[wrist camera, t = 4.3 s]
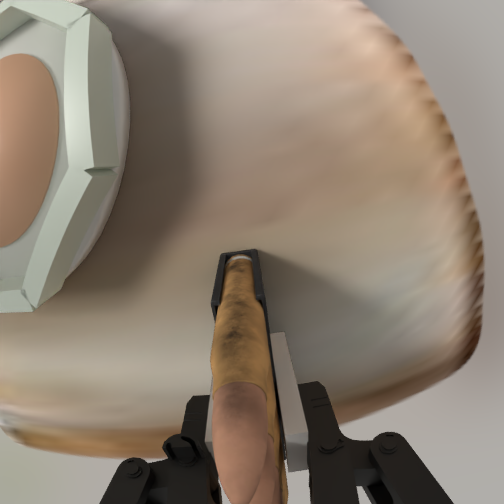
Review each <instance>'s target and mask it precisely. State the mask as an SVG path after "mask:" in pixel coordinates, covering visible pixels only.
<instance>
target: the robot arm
mask: <svg viewBox="0 0 504 504" xmlns="http://www.w3.org/2000/svg"><path fill="white" fill-rule="evenodd" d="M270 338H271V345H272V353H273V360H274V368H275V376H276V383H277V391H278V399H279V407H280V416H281V424H282V430H283V437H284V444H285V451H286V458H287V465H288V472H294V471H301V470H307V469H309V487H310V501H311V504H359V498H358V493H357V487H356V486H362V487H363V489H364V491H365V493H366V494H367V496H368V498H369V500H370V502H371V503H372V504H454V503H453V502H452V501H451V499H450V498H449V497H448V495H447V494H446V493H445V491H444V490H443V489H442V487H441V486H440V485H439V483H438V482H437V481H436V479H435V478H434V477H433V475H432V474H431V473H430V471H429V470H428V469H427V467H426V466H425V465H424V463H423V462H422V461H421V459H420V458H419V457H418V455H417V454H416V453H415V451H414V450H413V449H412V447H411V446H410V445H409V443H408V442H407V441H406V440H405V438H404V437H402V436H401V435H400V434H398V433H395V432H385V433H381V434H379V435H378V436H376V437H375V438H374V439H373V440H371V441H359V440H352V439H349V438H347V437H345V436H344V435H343V434H342V433H341V431H340V429H339V426H338V423H337V420H336V418H335V415H334V412H333V409H332V406H331V403H330V400H329V398H328V394H327V392H326V389H325V387H324V386H323V385H322V384H320V383H319V382H318V381H316V382H310V383H304V384H298V385H297V382H296V378H295V374H294V369H293V365H292V361H291V357H290V353H289V349H288V345H287V341H286V336H285V332H278V333H271V334H270ZM212 393H213V377H212V385H211V393H210V395H200V396H192V398H191V399H190V400H189V402H188V403H187V406H186V411H185V415H184V421H183V425H182V430H181V434H176V435H173V436H171V437H169V438H168V439H167V440H166V441H165V442H164V444H163V447H162V448H163V450H164V452H165V453H166V455H167V457H168V458H167V459H165V460H162V461H157V462H152V463H147V462H146V461H145V460H143V459H141V458H134V457H133V458H129V459H126V460H125V461H123V462H122V463H121V464H120V465H119V467H118V468H117V470H116V473H115V474H114V476H113V478H112V480H111V482H110V484H109V486H108V488H107V490H106V492H105V494H104V496H103V498H102V500H101V501H100V504H222V496H221V487H220V484H219V482H218V477H219V475H218V471H217V467H216V463H215V458H214V451H213V441H212V412H213V399H212Z"/></svg>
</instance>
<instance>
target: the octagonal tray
mask: <svg viewBox="0 0 504 504" xmlns="http://www.w3.org/2000/svg"><path fill="white" fill-rule="evenodd" d="M129 132H130V95H129V87H128V80H127V75H126V71H125V68H124V64H123V60H122V58H121V56H120V54H119V51H118V49H117V47H116V45H115V43H114V42H113V41H112V33H111V32H110V31H109V28H108V27H107V26H106V25H105V24H104V23H103V22H102V21H101V20H100V19H99V18H98V17H96V16H95V15H94V14H93V13H92V12H91V11H90V10H89V9H87V8H85V7H82V6H79V5H76V4H74V3H71V2H68V1H65V0H4V1H2V2H1V3H0V313H8V312H33V311H34V310H36V309H37V308H38V307H39V306H41V305H42V304H43V303H44V302H46V301H47V300H48V299H49V298H51V297H52V296H53V295H54V294H56V293H57V292H58V291H59V290H61V288H62V286H63V283H64V281H65V278H66V277H68V276H69V275H70V274H71V273H72V272H73V271H74V270H75V269H76V268H77V267H78V266H79V265H80V264H81V263H82V262H83V260H84V259H85V258H86V257H87V255H88V254H89V253H90V252H91V250H92V249H93V247H94V245H95V243H96V242H97V240H98V239H99V237H100V235H101V234H102V231H103V229H104V227H105V225H106V223H107V221H108V219H109V216H110V214H111V211H112V209H113V206H114V203H115V200H116V197H117V195H118V192H119V188H120V184H121V180H122V176H123V172H124V169H125V162H126V156H127V151H128V145H129Z"/></svg>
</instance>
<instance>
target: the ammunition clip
mask: <svg viewBox="0 0 504 504" xmlns="http://www.w3.org/2000/svg"><path fill="white" fill-rule="evenodd" d="M211 307H212V311H213V316H214V320H215V329H214V336H213V343H212V350H211V357H210V362H211V369H212V374H213V393H212V399H213V412H212V441H213V451H214V458H215V463H216V467H217V471H218V475H219V478H220V482H221V485H222V487H223V489H224V491H225V494H226V495H227V497H228V499H229V501H230V503H231V504H287V501H288V486H287V478H286V471H285V463H284V460H286V454H285V446H284V438H283V430H282V424H281V416H280V407H279V399H278V391H277V383H276V376H275V368H274V360H273V353H272V345H271V338H270V330H269V323H268V315H267V308H266V301H265V294H264V288H263V282H262V276H261V270H260V264H259V258H258V252H257V250H256V249H251V250H244V251H237V252H230V253H223V254H221V255H220V259H219V264H218V269H217V274H216V279H215V284H214V289H213V295H212V300H211Z"/></svg>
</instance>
